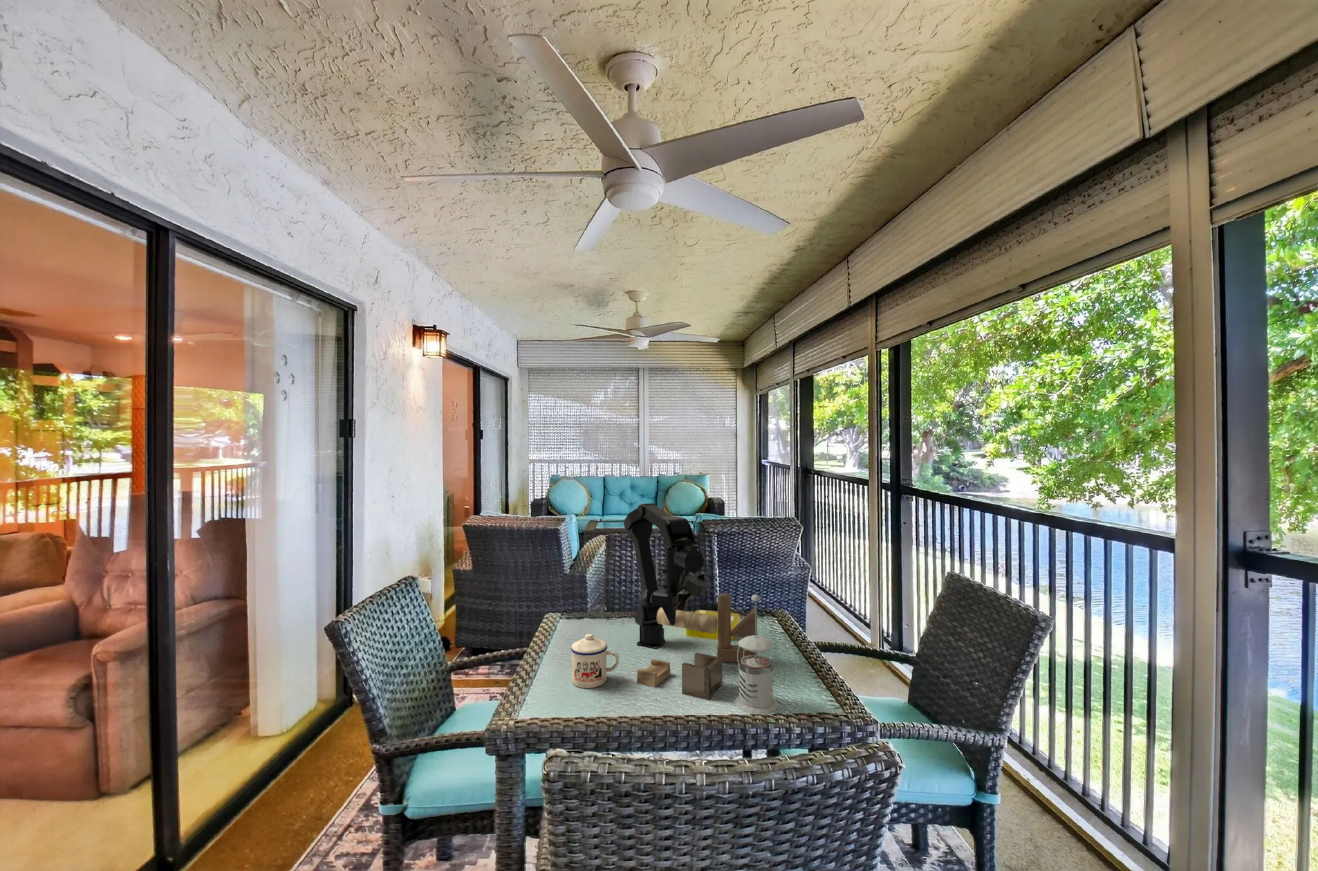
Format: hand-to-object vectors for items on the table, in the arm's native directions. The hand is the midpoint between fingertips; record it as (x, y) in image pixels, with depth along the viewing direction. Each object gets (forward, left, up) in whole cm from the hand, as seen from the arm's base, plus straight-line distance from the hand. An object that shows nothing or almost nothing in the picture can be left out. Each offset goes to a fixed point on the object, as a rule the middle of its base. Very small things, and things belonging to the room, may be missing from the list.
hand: (676, 622), depth 153 cm
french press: (+26, -12, -11) cm, 30 cm away
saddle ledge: (-1, -12, -11) cm, 16 cm away
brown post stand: (+14, +9, -11) cm, 20 cm away
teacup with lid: (-13, -20, -11) cm, 26 cm away
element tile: (-1, +28, -12) cm, 31 cm away
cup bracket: (+13, -12, -11) cm, 21 cm away
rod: (+3, 0, -1) cm, 3 cm away
